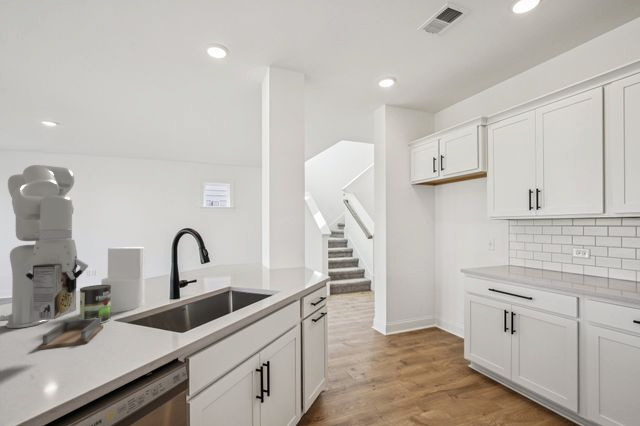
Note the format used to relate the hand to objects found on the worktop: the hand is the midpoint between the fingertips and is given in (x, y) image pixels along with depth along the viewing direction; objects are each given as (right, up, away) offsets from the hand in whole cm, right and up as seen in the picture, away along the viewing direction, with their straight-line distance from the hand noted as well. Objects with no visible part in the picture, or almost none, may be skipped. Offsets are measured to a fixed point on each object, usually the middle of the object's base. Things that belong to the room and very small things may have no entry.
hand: (55, 292), depth 93 cm
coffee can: (-10, -20, +30) cm, 37 cm away
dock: (-5, -19, +13) cm, 23 cm away
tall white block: (-13, -21, +51) cm, 57 cm away
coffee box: (0, -7, 0) cm, 7 cm away
